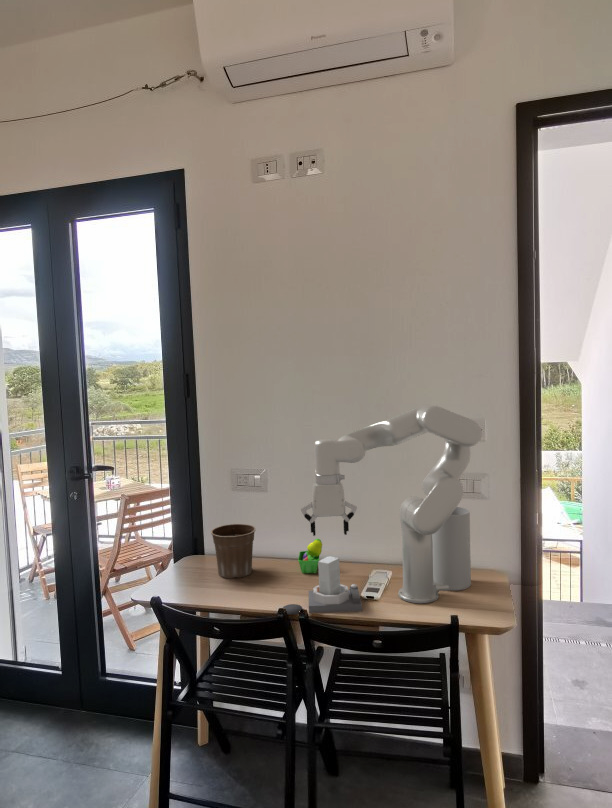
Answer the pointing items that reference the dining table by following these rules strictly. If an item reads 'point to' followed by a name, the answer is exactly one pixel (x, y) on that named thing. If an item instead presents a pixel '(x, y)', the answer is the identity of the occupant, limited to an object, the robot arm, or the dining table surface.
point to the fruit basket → (310, 557)
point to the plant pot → (234, 549)
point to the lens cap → (292, 609)
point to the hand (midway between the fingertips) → (329, 534)
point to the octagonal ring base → (335, 600)
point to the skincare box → (329, 576)
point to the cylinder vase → (453, 551)
